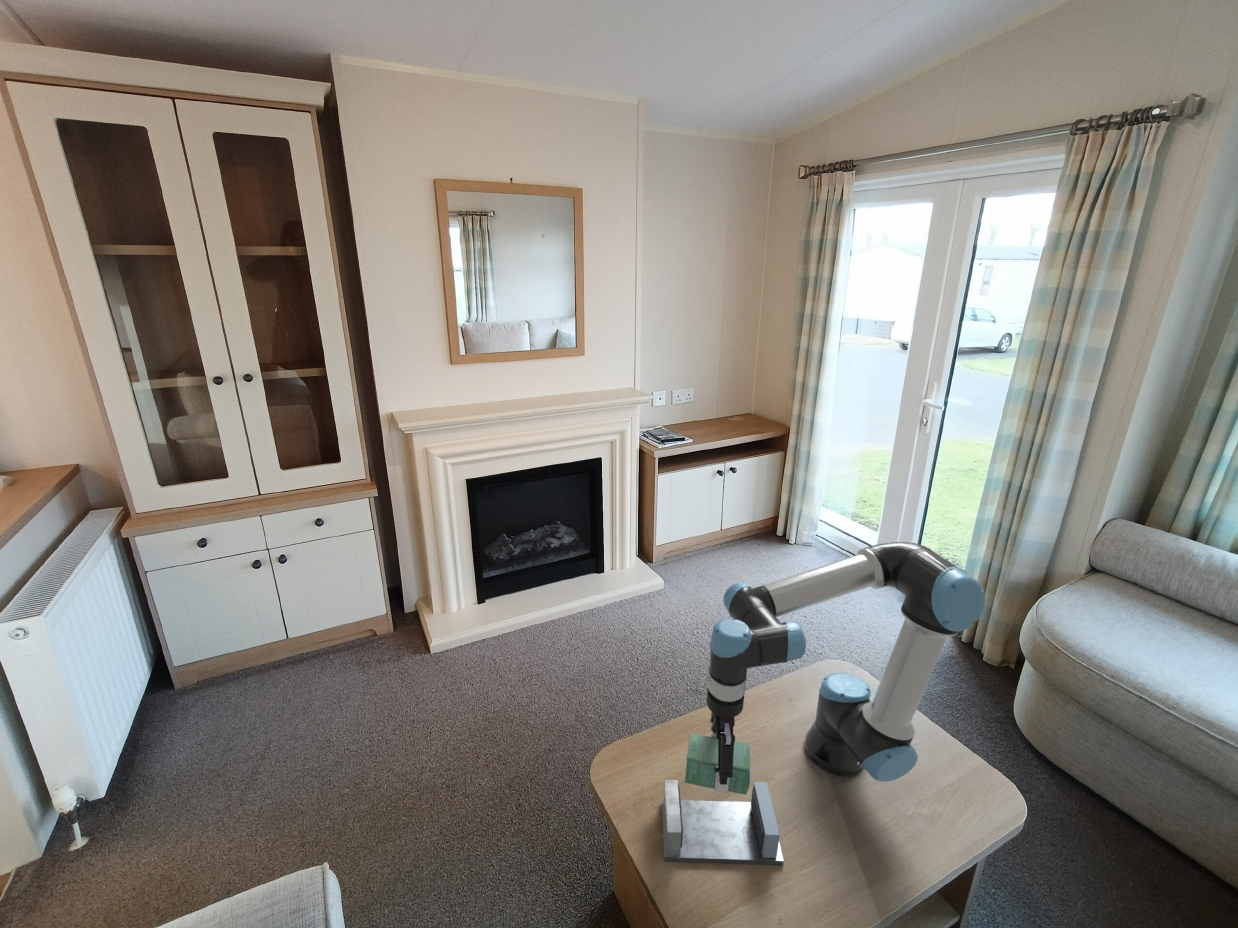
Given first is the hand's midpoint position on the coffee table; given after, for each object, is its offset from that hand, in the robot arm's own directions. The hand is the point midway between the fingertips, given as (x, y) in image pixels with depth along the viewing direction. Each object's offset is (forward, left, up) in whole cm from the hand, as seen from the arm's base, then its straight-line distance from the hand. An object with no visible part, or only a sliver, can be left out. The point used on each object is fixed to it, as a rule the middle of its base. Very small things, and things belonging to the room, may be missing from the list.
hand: (718, 772), depth 124 cm
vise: (-1, 0, -18) cm, 19 cm away
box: (0, 0, -1) cm, 1 cm away
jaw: (-11, 0, -17) cm, 20 cm away
